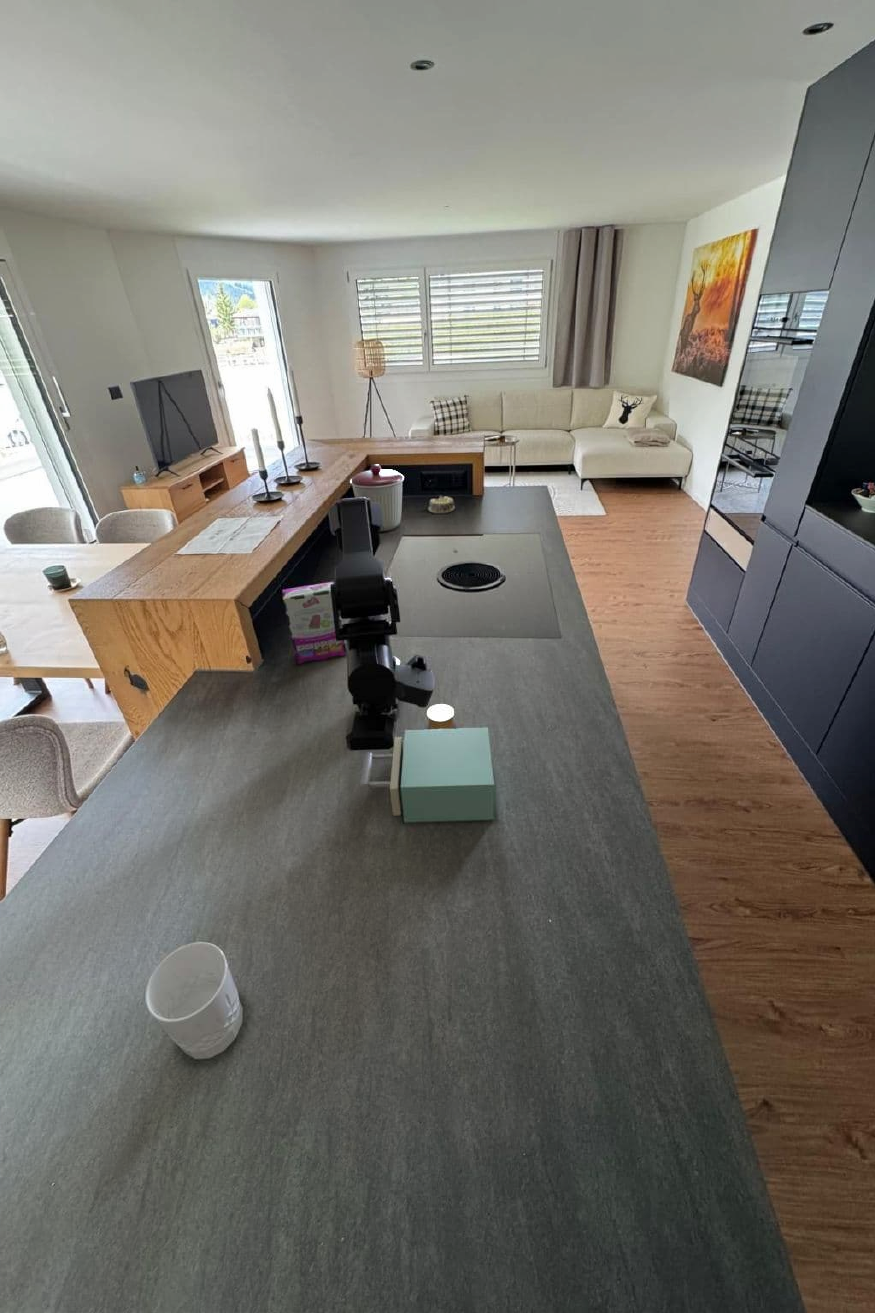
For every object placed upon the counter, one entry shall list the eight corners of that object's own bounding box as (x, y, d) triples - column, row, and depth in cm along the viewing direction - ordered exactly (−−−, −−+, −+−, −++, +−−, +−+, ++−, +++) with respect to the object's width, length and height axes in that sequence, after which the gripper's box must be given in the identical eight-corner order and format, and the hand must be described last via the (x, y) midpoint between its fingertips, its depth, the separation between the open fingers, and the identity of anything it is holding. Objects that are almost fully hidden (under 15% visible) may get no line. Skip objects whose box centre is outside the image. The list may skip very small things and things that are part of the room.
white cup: (256, 986, 65) (235, 939, 60) (238, 1064, 59) (213, 1019, 53) (189, 990, 65) (162, 944, 60) (163, 1068, 59) (131, 1024, 53)
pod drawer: (361, 816, 85) (356, 790, 82) (368, 763, 94) (364, 738, 91) (474, 813, 85) (474, 786, 81) (470, 760, 94) (470, 734, 91)
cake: (460, 511, 205) (460, 496, 202) (437, 517, 201) (437, 502, 197) (445, 502, 211) (445, 488, 208) (423, 508, 207) (422, 494, 204)
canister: (417, 522, 195) (413, 460, 184) (387, 539, 183) (381, 474, 171) (376, 514, 204) (370, 455, 192) (345, 530, 191) (336, 468, 179)
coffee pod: (427, 738, 100) (426, 721, 98) (428, 721, 105) (427, 704, 102) (454, 737, 100) (454, 720, 98) (454, 720, 104) (453, 703, 102)
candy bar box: (344, 644, 129) (334, 580, 120) (347, 655, 125) (337, 590, 116) (295, 653, 126) (281, 588, 117) (297, 665, 122) (282, 598, 113)
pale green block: (404, 822, 85) (400, 787, 81) (408, 763, 95) (404, 730, 91) (493, 819, 84) (494, 784, 80) (487, 761, 95) (487, 727, 91)
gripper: (428, 698, 68) (434, 787, 76) (430, 621, 83) (434, 703, 92) (337, 701, 68) (353, 790, 77) (356, 624, 84) (367, 705, 92)
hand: (381, 743), depth 84 cm, fingers closed
